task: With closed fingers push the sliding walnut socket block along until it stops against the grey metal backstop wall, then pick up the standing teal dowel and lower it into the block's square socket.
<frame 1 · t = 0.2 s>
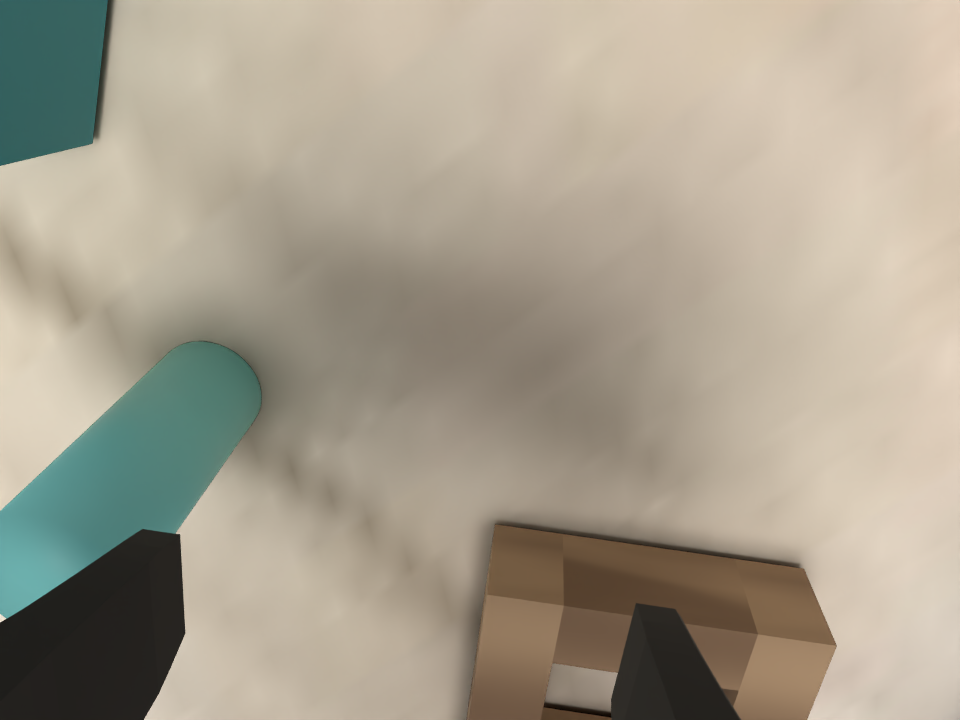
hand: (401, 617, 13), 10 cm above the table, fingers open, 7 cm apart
socket block: (623, 698, 24), point 2 cm above the table, slide at 0.0 cm
dowel: (209, 390, 23), on the table
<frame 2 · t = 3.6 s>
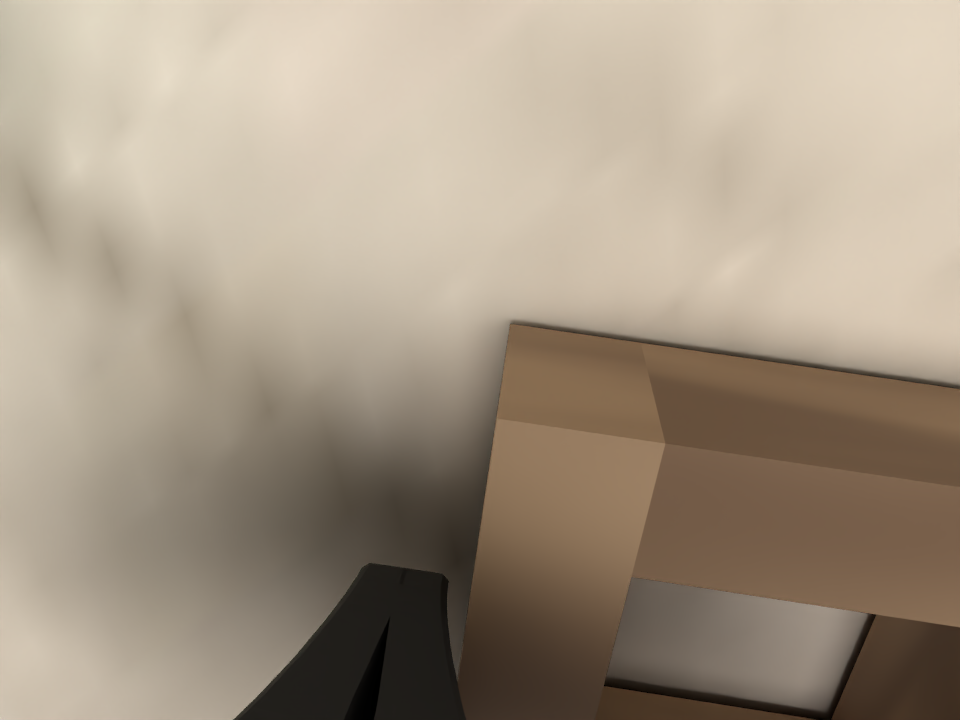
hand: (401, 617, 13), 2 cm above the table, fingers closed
socket block: (749, 662, 13), point 2 cm above the table, slide at 1.4 cm, touching gripper
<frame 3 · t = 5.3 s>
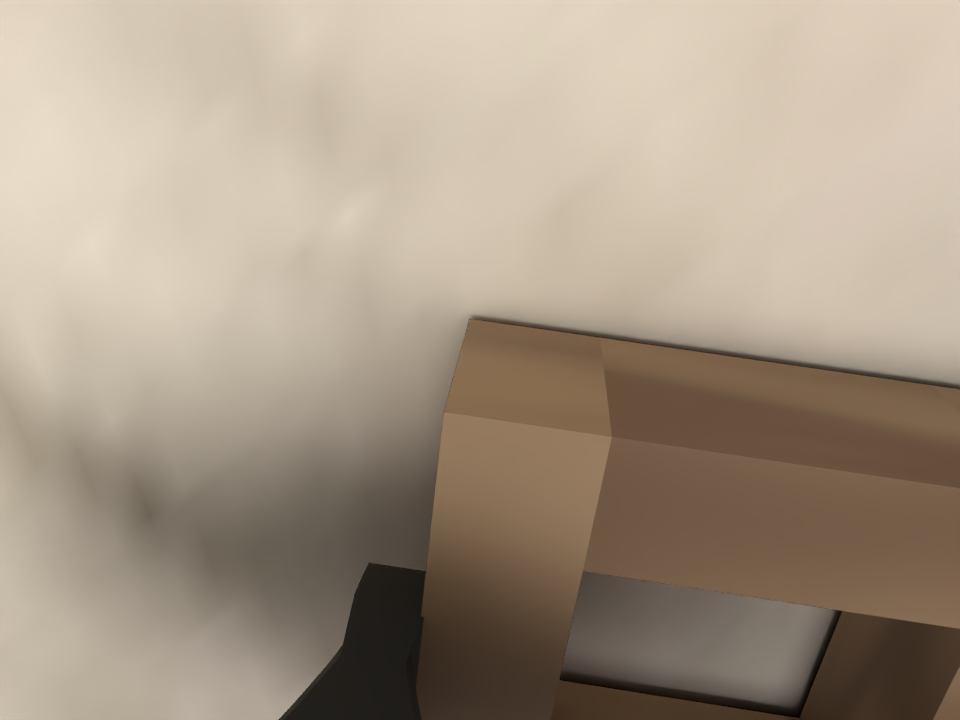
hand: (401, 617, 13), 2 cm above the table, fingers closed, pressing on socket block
socket block: (711, 658, 13), point 2 cm above the table, slide at 6.5 cm, touching backstop wall, gripper
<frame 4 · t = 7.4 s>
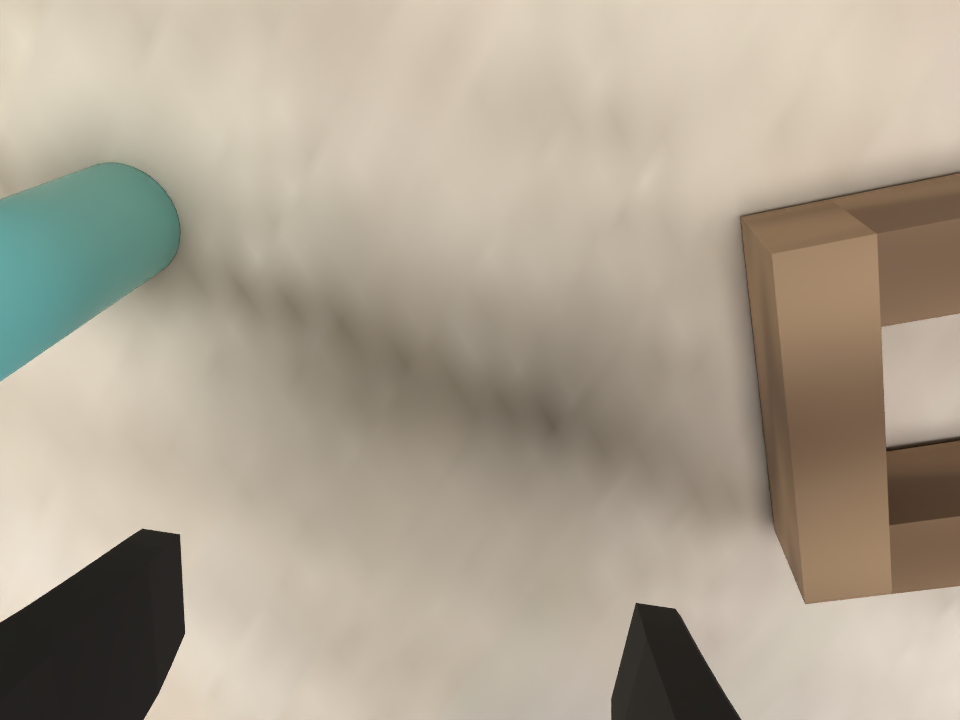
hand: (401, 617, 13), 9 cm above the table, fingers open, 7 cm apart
dowel: (122, 222, 20), on the table
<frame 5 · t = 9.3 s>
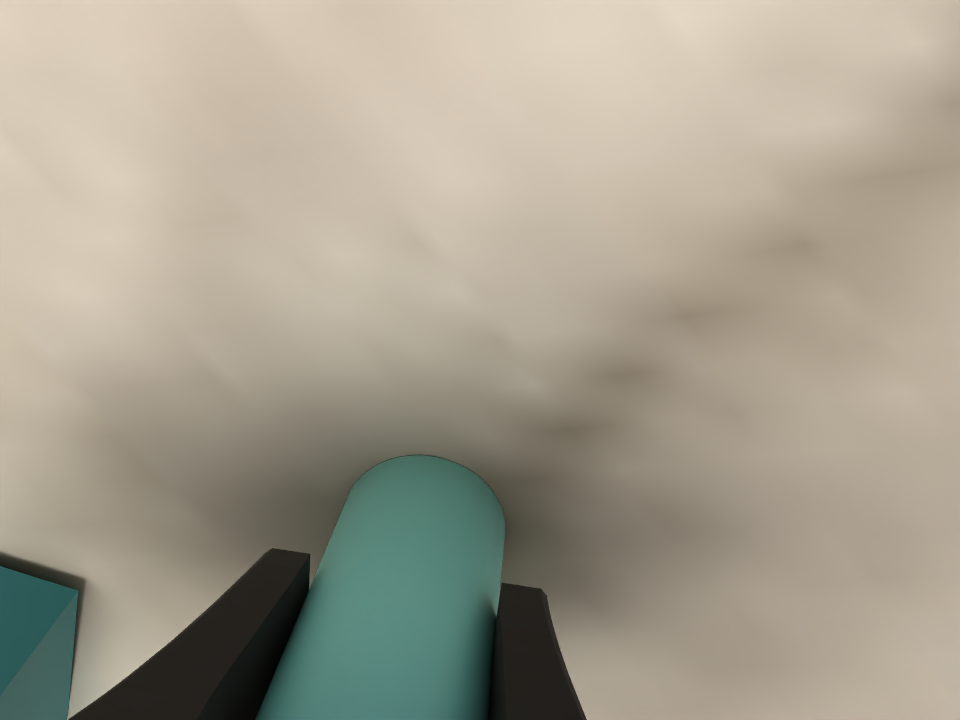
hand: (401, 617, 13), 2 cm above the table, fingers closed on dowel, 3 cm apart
dowel: (424, 525, 15), on the table, touching gripper
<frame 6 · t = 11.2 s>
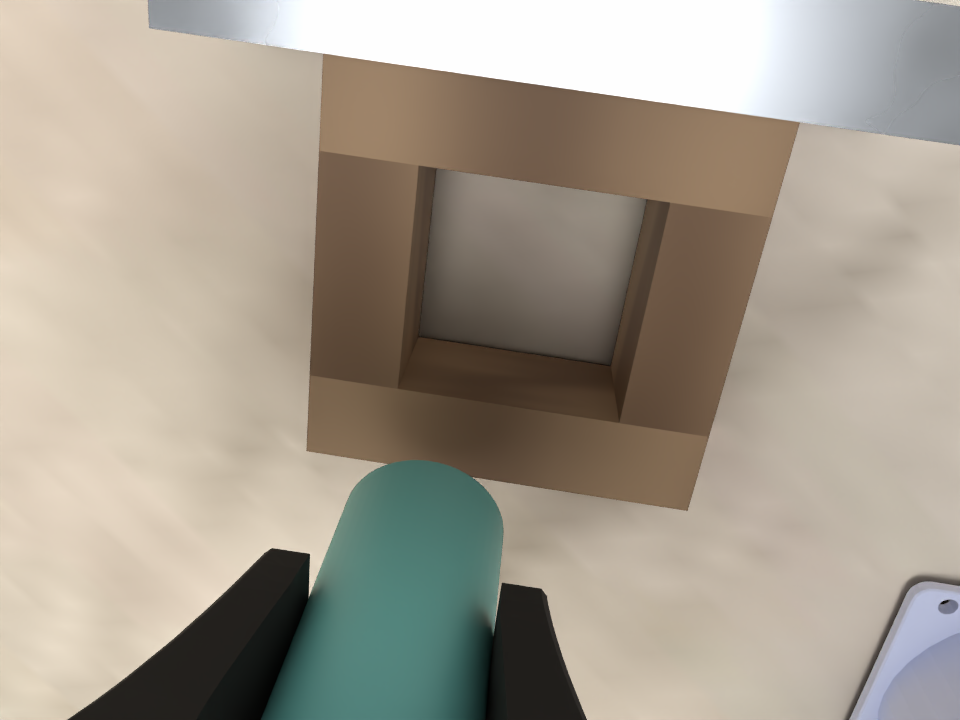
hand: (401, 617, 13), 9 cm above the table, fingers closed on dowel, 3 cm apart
socket block: (527, 278, 18), point 2 cm above the table, slide at 6.5 cm, touching backstop wall
dowel: (423, 527, 15), point 7 cm above the table, touching gripper
backstop wall: (568, 15, 17), on the table
when the fingers open (4 cm above the table, at t = 13.1 s): dowel drops 2 cm, resting in socket block.
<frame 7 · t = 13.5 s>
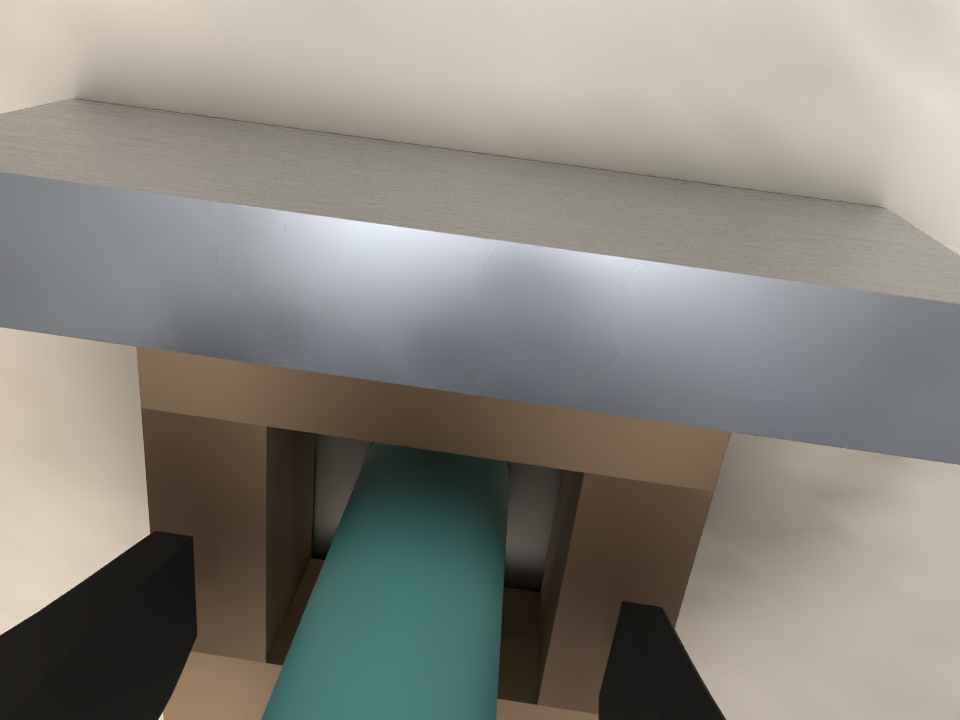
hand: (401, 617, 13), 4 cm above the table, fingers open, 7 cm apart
socket block: (424, 522, 15), point 2 cm above the table, slide at 6.5 cm, touching backstop wall
dowel: (436, 479, 16), resting in socket block
backstop wall: (466, 209, 14), on the table
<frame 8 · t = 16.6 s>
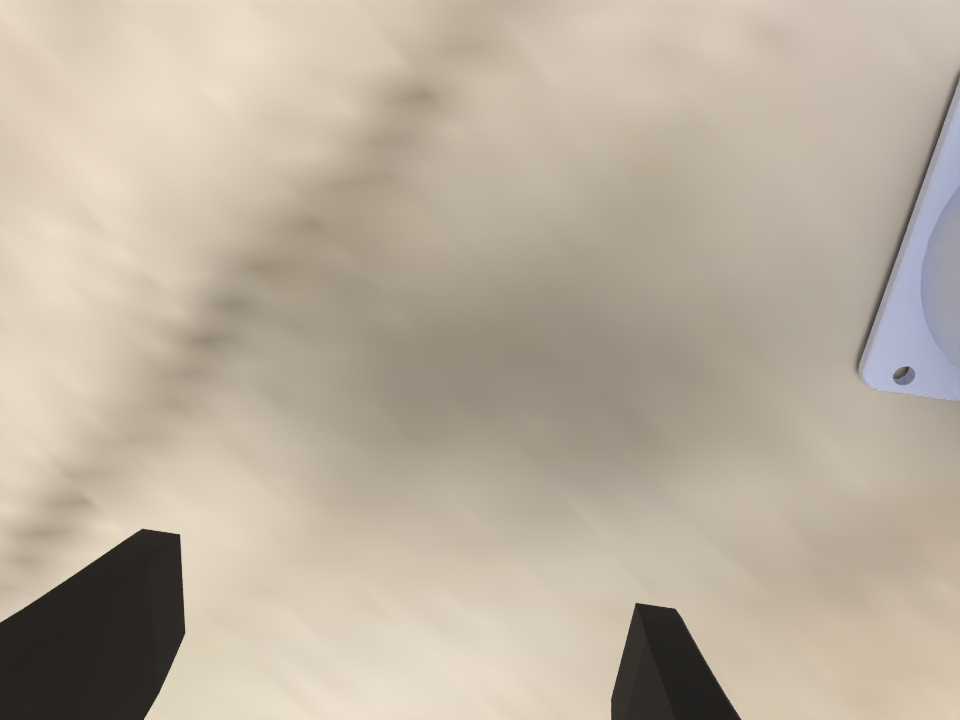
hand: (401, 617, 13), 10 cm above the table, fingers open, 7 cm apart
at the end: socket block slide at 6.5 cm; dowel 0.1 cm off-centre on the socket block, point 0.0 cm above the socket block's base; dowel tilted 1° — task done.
